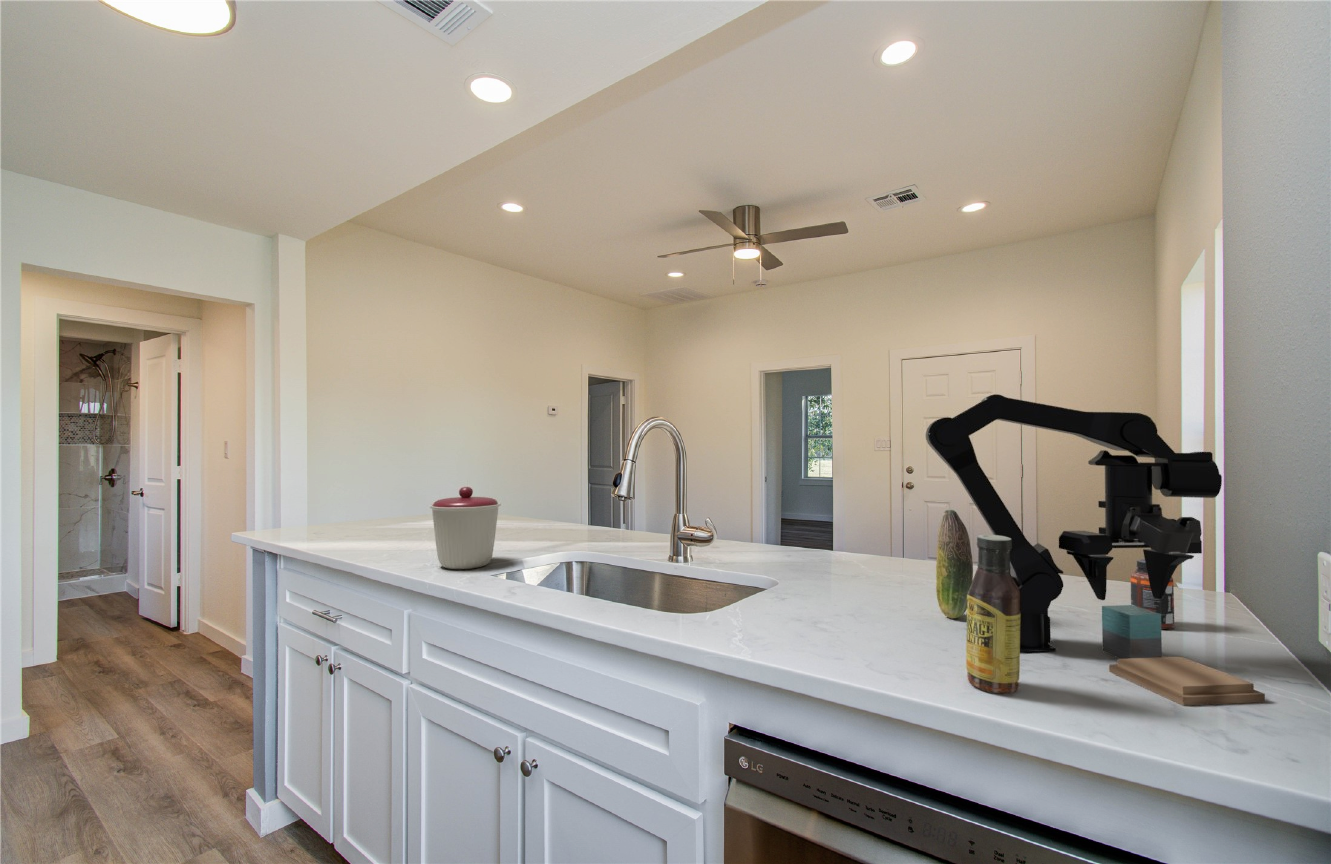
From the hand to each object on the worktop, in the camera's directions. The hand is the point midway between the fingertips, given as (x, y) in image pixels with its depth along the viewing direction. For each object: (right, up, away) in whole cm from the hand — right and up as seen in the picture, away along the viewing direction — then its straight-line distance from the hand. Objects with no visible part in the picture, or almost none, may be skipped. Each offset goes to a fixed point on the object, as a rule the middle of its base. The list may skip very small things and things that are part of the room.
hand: (1129, 599), depth 91 cm
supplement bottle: (+16, -9, +15) cm, 24 cm away
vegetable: (-17, -9, +20) cm, 28 cm away
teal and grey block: (0, -9, 0) cm, 9 cm away
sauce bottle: (-27, -9, -12) cm, 31 cm away
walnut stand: (-2, -8, -11) cm, 14 cm away
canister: (-124, -11, +69) cm, 142 cm away
